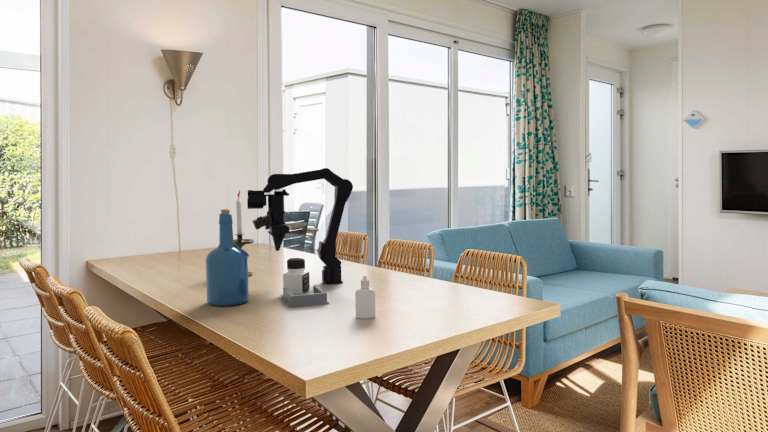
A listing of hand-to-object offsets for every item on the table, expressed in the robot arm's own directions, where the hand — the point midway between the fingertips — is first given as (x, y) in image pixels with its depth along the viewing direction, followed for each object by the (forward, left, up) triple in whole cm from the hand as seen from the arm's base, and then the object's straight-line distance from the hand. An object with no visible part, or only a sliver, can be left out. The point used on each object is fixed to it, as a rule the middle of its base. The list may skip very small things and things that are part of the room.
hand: (277, 250), depth 204 cm
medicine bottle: (-4, +15, -13) cm, 20 cm away
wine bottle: (+19, +21, -13) cm, 31 cm away
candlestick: (+11, -27, -13) cm, 32 cm away
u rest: (-4, +28, -13) cm, 31 cm away
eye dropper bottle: (-16, +56, -13) cm, 60 cm away
